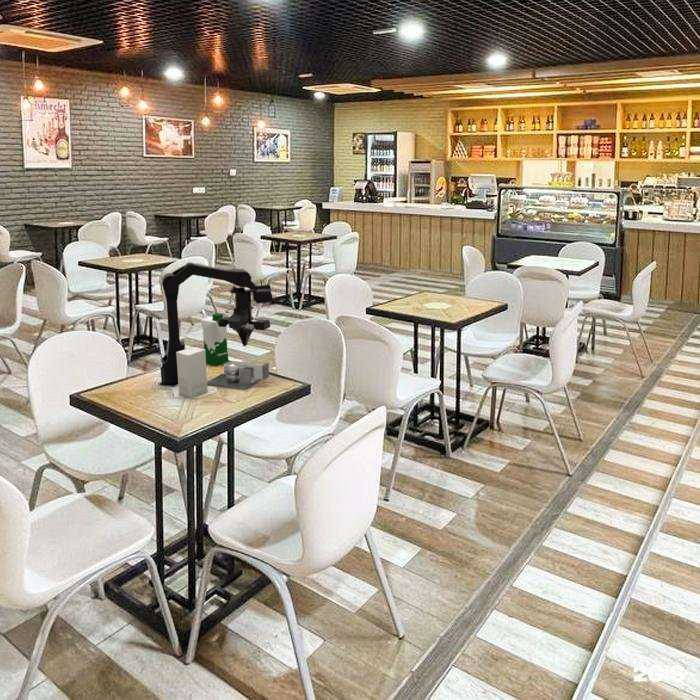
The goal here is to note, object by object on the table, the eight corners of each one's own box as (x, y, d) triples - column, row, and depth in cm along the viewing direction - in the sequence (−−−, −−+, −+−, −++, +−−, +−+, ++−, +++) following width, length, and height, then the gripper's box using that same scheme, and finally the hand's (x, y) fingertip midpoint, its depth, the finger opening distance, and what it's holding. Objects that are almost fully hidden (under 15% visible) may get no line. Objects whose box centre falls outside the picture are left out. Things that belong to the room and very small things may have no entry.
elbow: (221, 377, 261) (220, 363, 260) (228, 372, 267) (227, 359, 266) (263, 380, 257) (263, 366, 256) (269, 375, 263) (269, 361, 262)
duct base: (205, 385, 261) (204, 368, 259) (222, 376, 272) (221, 359, 270) (246, 390, 256) (245, 372, 254) (261, 380, 267) (260, 363, 265)
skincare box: (195, 388, 258) (193, 346, 254) (209, 392, 254) (206, 349, 250) (177, 394, 251) (175, 351, 247) (191, 398, 247) (188, 354, 243)
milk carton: (216, 367, 283) (213, 317, 278) (200, 363, 288) (197, 314, 283) (232, 362, 290) (230, 313, 285) (216, 358, 295) (213, 310, 290)
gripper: (209, 307, 259) (211, 349, 263) (256, 310, 253) (258, 353, 257) (224, 301, 269) (226, 341, 274) (270, 304, 263) (271, 346, 268)
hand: (245, 345), depth 268 cm, fingers closed
